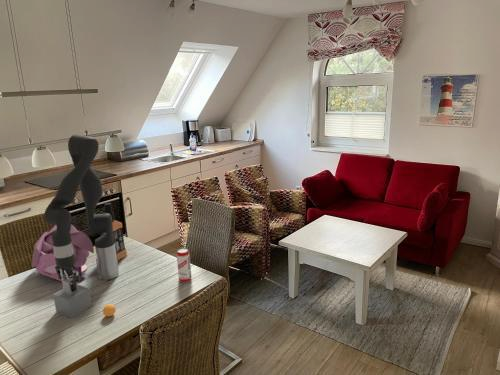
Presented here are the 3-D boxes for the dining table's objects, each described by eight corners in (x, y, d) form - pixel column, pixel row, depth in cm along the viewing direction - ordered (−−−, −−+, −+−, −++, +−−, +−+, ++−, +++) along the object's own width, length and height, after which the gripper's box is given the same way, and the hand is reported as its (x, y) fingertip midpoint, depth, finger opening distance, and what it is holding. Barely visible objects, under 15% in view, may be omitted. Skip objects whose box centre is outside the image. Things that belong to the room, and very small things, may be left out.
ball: (101, 317, 161) (99, 306, 159) (110, 310, 165) (109, 300, 163) (109, 320, 158) (107, 309, 157) (118, 313, 162) (117, 303, 161)
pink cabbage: (104, 274, 207) (108, 223, 204) (79, 289, 183) (83, 232, 180) (45, 265, 211) (48, 215, 208) (13, 279, 188) (16, 222, 185)
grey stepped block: (56, 312, 165) (50, 281, 161) (76, 300, 174) (71, 271, 169) (71, 318, 160) (65, 287, 156) (91, 306, 169) (86, 276, 165)
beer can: (189, 283, 185) (186, 253, 180) (176, 282, 186) (174, 252, 182) (193, 277, 191) (191, 248, 186) (181, 276, 192) (179, 247, 188)
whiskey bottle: (128, 255, 217) (121, 201, 208) (115, 262, 209) (108, 207, 200) (114, 252, 221) (106, 199, 213) (101, 259, 213) (93, 205, 204)
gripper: (45, 253, 160) (52, 289, 164) (67, 260, 153) (73, 298, 158) (61, 246, 166) (67, 281, 171) (83, 253, 159) (89, 289, 164)
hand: (70, 289), depth 164 cm, fingers closed on grey stepped block, 4 cm apart
